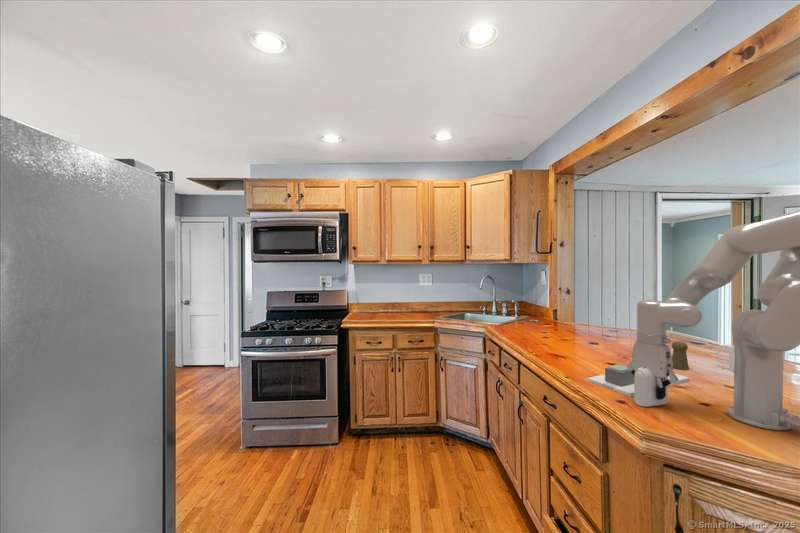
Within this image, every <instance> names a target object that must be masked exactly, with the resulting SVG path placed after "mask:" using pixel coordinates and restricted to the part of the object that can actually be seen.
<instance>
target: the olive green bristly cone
mask: <svg viewBox="0 0 800 533" xmlns="http://www.w3.org/2000/svg"><path fill="white" fill-rule="evenodd" d="M688 346H689V345H688V344H687V343H686V342H684V341H673V342H671V348H672V349H673V351H672V353H671V354H672V361H673V370H674V369H675V370H677V371H678V370H679V371H689V364H688V362H689V361H688V356H687V350H688Z"/></svg>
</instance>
